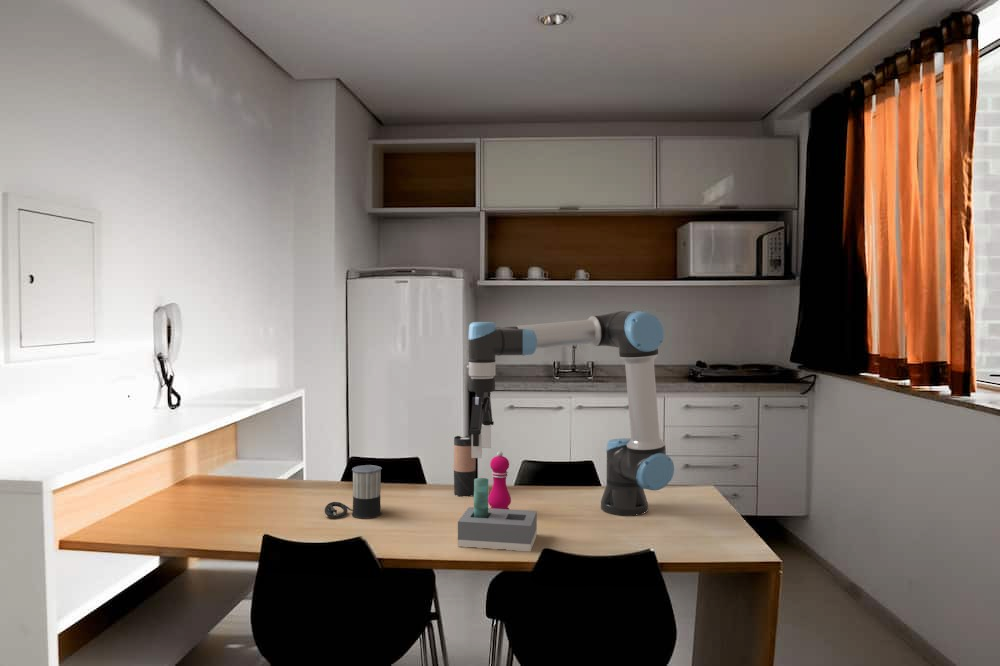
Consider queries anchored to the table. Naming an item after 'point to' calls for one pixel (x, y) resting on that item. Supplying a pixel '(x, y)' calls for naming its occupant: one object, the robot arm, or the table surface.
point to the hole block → (498, 529)
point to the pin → (480, 498)
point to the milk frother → (362, 494)
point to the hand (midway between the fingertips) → (481, 452)
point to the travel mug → (463, 467)
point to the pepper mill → (499, 483)
